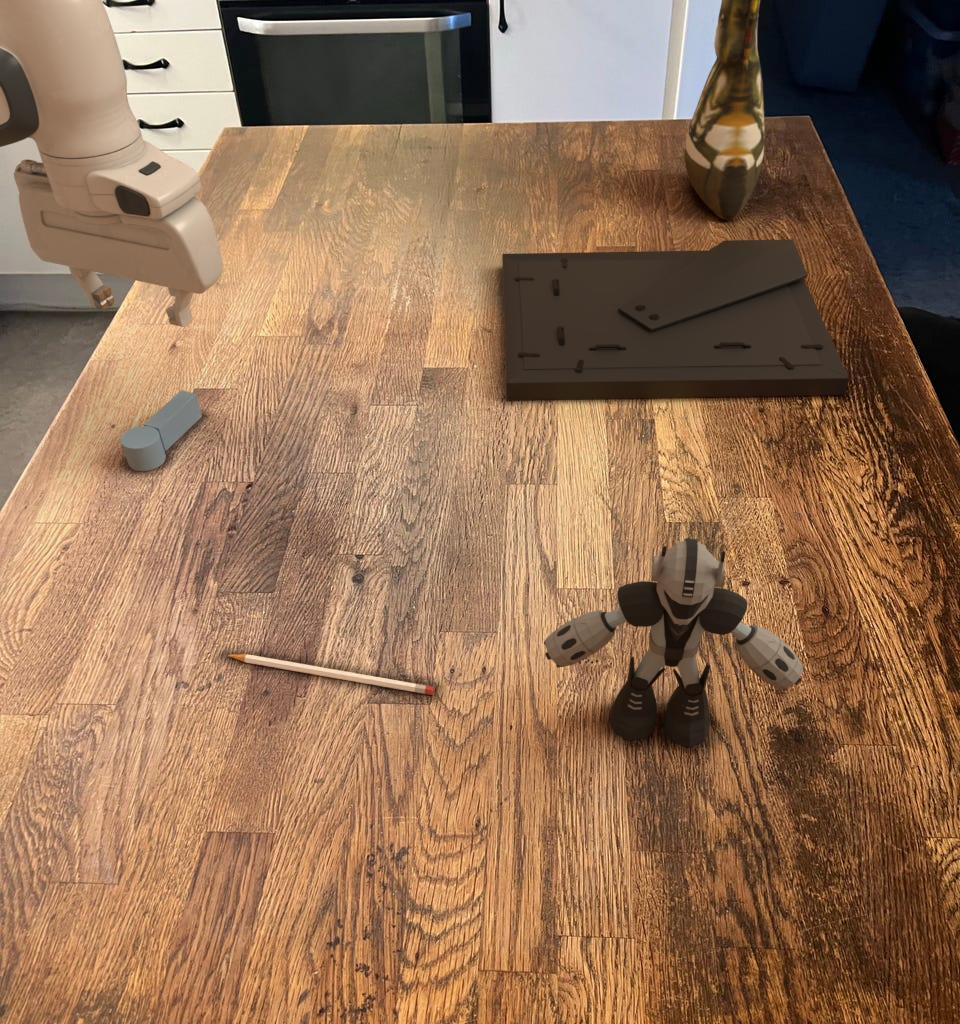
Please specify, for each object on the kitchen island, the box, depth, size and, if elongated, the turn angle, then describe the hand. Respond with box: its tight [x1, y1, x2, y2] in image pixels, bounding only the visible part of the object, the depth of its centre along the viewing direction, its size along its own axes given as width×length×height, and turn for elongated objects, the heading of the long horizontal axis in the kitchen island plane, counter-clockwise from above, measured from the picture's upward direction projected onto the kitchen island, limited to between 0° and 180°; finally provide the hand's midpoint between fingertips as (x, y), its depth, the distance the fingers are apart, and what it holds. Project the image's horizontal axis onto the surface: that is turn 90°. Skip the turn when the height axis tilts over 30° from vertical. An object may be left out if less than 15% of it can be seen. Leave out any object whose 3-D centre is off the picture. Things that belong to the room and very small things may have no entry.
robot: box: [543, 537, 804, 749], centre depth 74 cm, size 20×5×20 cm, turn 81°
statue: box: [684, 0, 766, 221], centre depth 135 cm, size 16×11×35 cm, turn 3°
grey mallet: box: [119, 389, 203, 472], centre depth 108 cm, size 11×4×3 cm, turn 157°
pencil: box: [227, 653, 435, 696], centre depth 85 cm, size 1×19×1 cm, turn 76°
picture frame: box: [501, 238, 850, 401], centre depth 122 cm, size 31×4×38 cm
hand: (142, 314), depth 99 cm, fingers open, 8 cm apart
